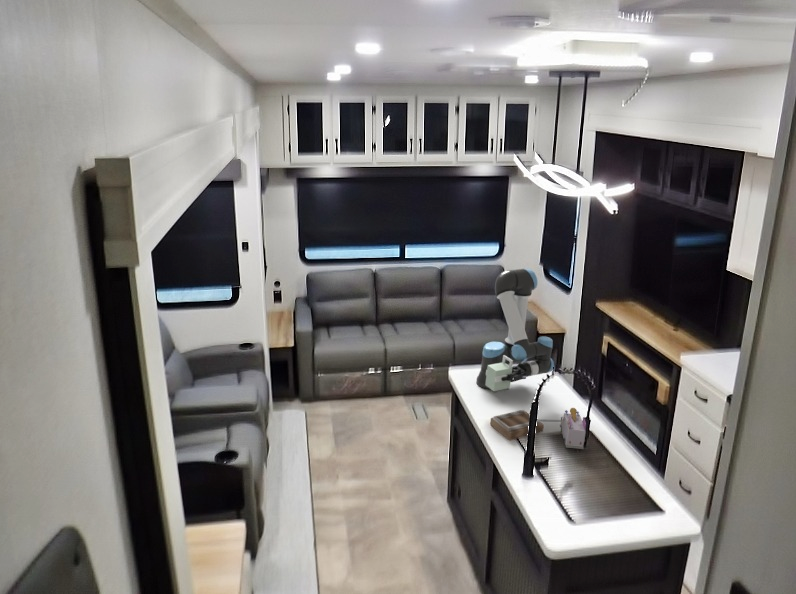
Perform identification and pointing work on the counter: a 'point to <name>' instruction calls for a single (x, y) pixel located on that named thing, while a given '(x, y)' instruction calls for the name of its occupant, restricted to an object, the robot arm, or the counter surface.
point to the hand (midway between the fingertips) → (490, 376)
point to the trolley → (496, 371)
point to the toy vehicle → (573, 429)
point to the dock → (514, 424)
